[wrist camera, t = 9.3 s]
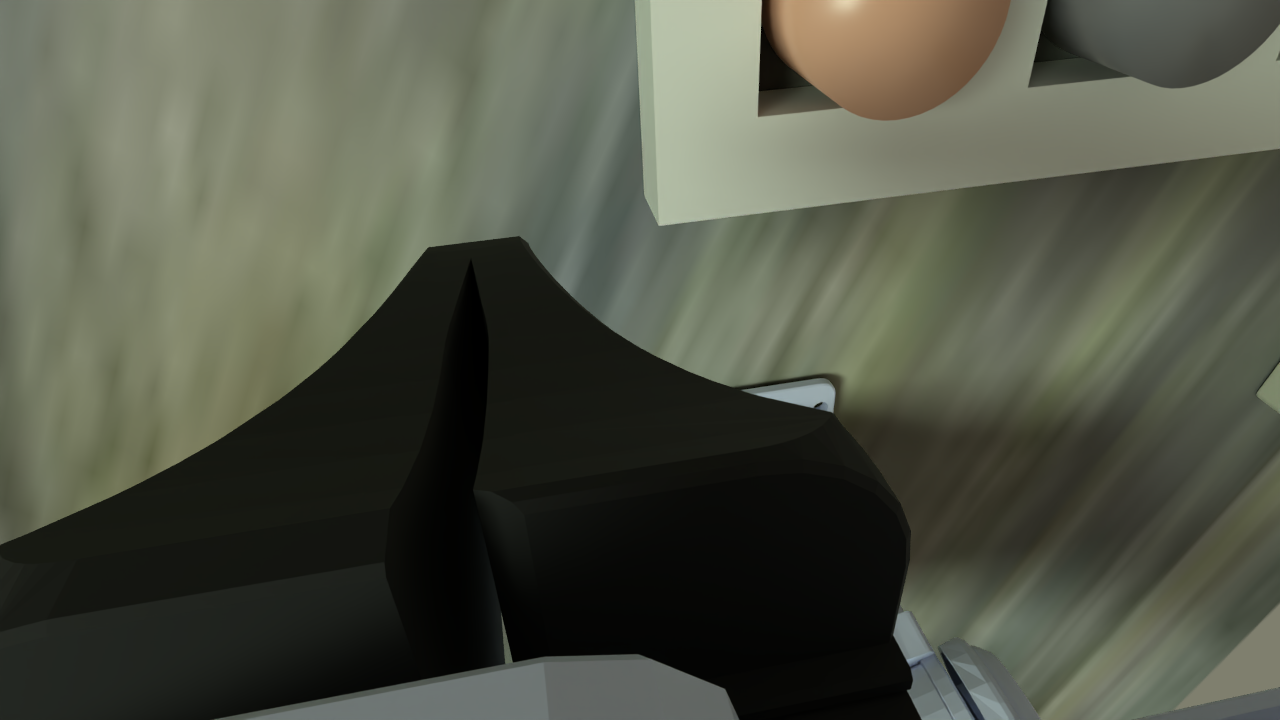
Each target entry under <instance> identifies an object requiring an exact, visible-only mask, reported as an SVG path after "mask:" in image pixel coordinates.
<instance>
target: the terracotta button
mask: <svg viewBox="0 0 1280 720" xmlns="http://www.w3.org/2000/svg"><path fill="white" fill-rule="evenodd" d="M1010 2H1011V0H762V8H761V21H762V25H763V28H764V32H765V34H766V37H767V39H768V41H769V43H770V45H771V47H772V48H773V50H774V51H775V53H776V54H777V55H778V57H779V58H780V59H781V60H782V61H783V62H784V63H785V64H786V65H787V66H788V67H790V68H791V69H792V70H793V71H795V72H796V73H797V74H799V75H800V76H801V77H803V78H804V79H805V80H807V81H808V82H809V83H811V84H812V85H813V86H815V87H816V88H817V89H818V90H820V91H821V92H822V93H824V94H825V95H826V96H828V97H829V98H830V99H832V100H833V101H834V102H836V103H837V104H838V105H840V106H841V107H843V108H844V109H846V110H847V111H849V112H851V113H853V114H855V115H858V116H860V117H864V118H868V119H872V120H881V121H889V120H900V119H905V118H910V117H913V116H916V115H919V114H922V113H924V112H927V111H929V110H931V109H933V108H935V107H937V106H938V105H940V104H942V103H943V102H945V101H946V100H948V99H949V98H950V97H952V96H953V95H955V94H956V93H957V92H958V91H959V90H960V89H962V88H963V87H964V86H965V85H966V84H967V83H968V82H969V81H970V80H971V79H972V78H973V76H974V75H975V74H976V73H977V72H978V71H979V69H980V68H981V67H982V65H983V64H984V63H985V61H986V60H987V58H988V57H989V55H990V53H991V52H992V50H993V48H994V47H995V45H996V43H997V40H998V38H999V36H1000V34H1001V32H1002V29H1003V27H1004V24H1005V21H1006V18H1007V14H1008V10H1009V7H1010Z"/></svg>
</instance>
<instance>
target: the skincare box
mask: <svg viewBox="0 0 1280 720" xmlns="http://www.w3.org/2000/svg"><path fill="white" fill-rule="evenodd" d="M1257 397H1258V398H1259V399H1261V400H1262V401H1263V402H1264V403H1266V404H1267V405H1268V406H1270V407H1271V408H1272V409H1274V410H1275V411H1276V412H1278V413H1279V414H1280V362H1279V364H1278V365H1277V367H1276V368H1275V369H1274V371H1273V372H1272V373H1271V375H1270V376H1269V377H1268V378H1267V380H1266V381H1265V382H1264V384H1263V385H1262V386H1261V388H1260V389H1259V390H1258V392H1257Z"/></svg>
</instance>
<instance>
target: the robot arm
mask: <svg viewBox="0 0 1280 720" xmlns="http://www.w3.org/2000/svg"><path fill="white" fill-rule="evenodd" d="M835 395H836V392H835V388H834V386H833V385H832V383H831V382H830V381H829V380H827V379H825V378H818V379H811V380H804V381H798V382H791V383H785V384H778V385H771V386H765V387H758V388H752V389H745V390H739V389H735V388H732V387H729V386H726V385H723V384H720V383H717V382H714V381H711V380H709V379H706V378H704V377H701V376H698V375H696V374H693V373H691V372H688V371H686V370H684V369H682V368H680V367H677V366H675V365H673V364H671V363H669V362H667V361H665V360H663V359H660V358H658V357H656V356H654V355H652V354H650V353H649V352H647V351H645V350H643V349H641V348H639V347H638V346H636V345H634V344H633V343H631V342H630V341H628V340H626V339H625V338H623V337H622V336H620V335H618V334H617V333H615V332H614V331H612V330H611V329H610V328H608V327H607V326H606V325H604V324H603V323H602V322H601V321H599V320H598V319H597V318H596V317H595V316H593V315H592V314H591V313H590V312H588V311H587V310H586V309H585V308H584V307H583V306H582V305H580V304H579V303H578V302H577V301H576V300H575V299H574V298H573V297H572V296H571V295H570V294H569V293H568V292H567V291H566V290H565V289H564V288H563V287H562V286H561V285H560V284H559V283H558V282H557V281H556V280H555V279H554V278H553V277H552V275H551V274H550V273H549V272H548V271H547V270H546V268H545V267H544V266H543V265H542V264H541V262H540V261H539V260H538V258H537V257H536V256H535V254H534V253H533V251H532V250H531V248H530V246H529V244H528V243H527V242H526V241H525V240H523V239H522V238H521V237H519V236H517V237H509V238H501V239H493V240H485V241H477V242H468V243H460V244H452V245H444V246H436V247H428V248H427V250H426V251H425V252H424V253H423V254H422V256H421V257H420V258H419V259H418V261H417V262H416V263H415V264H414V266H413V267H412V268H411V269H410V271H409V272H408V273H407V275H406V276H405V277H404V278H403V280H402V281H401V282H400V284H399V285H398V286H397V287H396V289H395V290H394V291H393V292H392V294H391V295H390V296H389V297H388V298H387V300H386V301H385V302H384V303H383V304H382V306H381V307H380V308H379V309H378V310H377V312H376V313H375V314H374V315H373V316H372V317H371V318H370V319H369V320H368V321H367V322H366V323H365V324H364V325H363V326H362V327H361V328H360V329H359V330H358V331H357V332H356V333H355V334H354V336H353V337H352V338H351V339H350V340H349V341H348V342H347V343H346V344H345V345H344V346H343V347H342V348H341V349H340V350H339V351H338V352H337V353H336V354H335V355H333V356H332V357H331V358H330V359H329V360H328V361H327V362H326V363H325V364H323V365H322V366H321V367H320V368H319V369H318V370H317V371H315V372H314V373H313V374H312V375H310V376H309V377H308V378H307V379H305V380H304V381H303V382H302V383H300V384H299V385H298V386H297V387H295V388H294V389H293V390H292V391H290V392H289V393H288V394H286V395H285V396H284V397H282V398H281V399H280V400H278V401H277V402H275V403H274V404H272V405H271V406H269V407H268V408H266V409H265V410H263V411H262V412H260V413H259V414H257V415H256V416H254V417H253V418H251V419H250V420H248V421H247V422H245V423H244V424H242V425H241V426H239V427H238V428H236V429H235V430H233V431H232V432H230V433H229V434H227V435H226V436H224V437H223V438H221V439H219V440H218V441H216V442H214V443H213V444H211V445H209V446H208V447H206V448H204V449H202V450H200V451H199V452H197V453H195V454H193V455H192V456H190V457H188V458H186V459H185V460H183V461H181V462H179V463H177V464H176V465H174V466H172V467H170V468H168V469H166V470H164V471H162V472H160V473H158V474H156V475H154V476H153V477H151V478H149V479H147V480H145V481H143V482H141V483H139V484H137V485H135V486H133V487H131V488H129V489H127V490H125V491H123V492H121V493H119V494H117V495H114V496H112V497H110V498H108V499H106V500H103V501H101V502H99V503H97V504H94V505H92V506H90V507H87V508H85V509H83V510H81V511H78V512H76V513H74V514H72V515H69V516H67V517H65V518H62V519H60V520H58V521H56V522H53V523H51V524H49V525H47V526H44V527H42V528H40V529H37V530H35V531H33V532H31V533H28V534H26V535H24V536H21V537H19V538H16V539H14V540H11V541H9V542H6V543H4V544H1V545H0V720H1041V718H1040V717H1039V715H1038V714H1037V712H1036V711H1035V709H1034V708H1033V706H1032V704H1031V703H1030V701H1029V700H1028V698H1027V697H1026V695H1025V694H1024V693H1023V691H1022V690H1021V688H1020V687H1019V685H1018V684H1017V682H1016V681H1015V680H1014V678H1013V677H1012V676H1011V674H1010V673H1009V672H1008V670H1007V669H1006V668H1005V666H1004V665H1003V664H1002V663H1001V661H1000V660H999V659H998V658H997V657H996V656H995V655H994V654H993V653H991V652H989V651H986V650H984V649H981V648H978V647H976V646H972V645H971V646H970V645H969V644H968V643H967V642H966V641H965V640H963V639H961V638H958V637H956V638H952V639H950V640H949V641H947V642H945V643H943V644H942V645H940V646H938V650H939V652H940V655H941V658H942V660H943V662H944V665H945V667H946V669H947V671H948V673H949V675H950V677H951V678H950V677H949V675H948V673H947V672H946V670H945V669H944V667H943V666H942V664H941V663H940V661H939V660H938V658H937V656H936V655H935V652H934V651H933V649H932V647H931V645H930V644H929V642H928V640H927V638H926V636H925V635H924V633H923V631H922V629H921V628H920V626H919V624H918V622H917V621H916V619H915V617H914V615H913V613H912V612H911V611H903V609H902V607H901V605H900V602H901V597H902V593H903V588H904V583H905V579H906V574H907V570H908V565H909V560H910V537H911V530H910V527H909V525H908V522H907V520H906V517H905V514H904V512H903V509H902V507H901V504H900V502H899V501H898V499H897V498H896V496H895V495H894V493H893V491H892V490H891V488H890V487H889V485H888V484H887V482H886V480H885V479H884V477H883V476H882V474H881V473H880V471H879V470H878V468H877V467H876V466H875V464H874V463H873V462H872V460H871V459H870V458H869V456H868V455H867V454H866V452H865V451H864V450H863V448H862V447H861V446H860V445H859V444H858V443H857V441H856V440H855V439H854V438H853V437H852V436H851V435H850V433H849V432H848V431H847V430H846V429H845V428H844V427H843V425H842V424H841V423H840V422H839V420H838V419H837V417H836V416H835V415H834V414H833V413H834V404H835ZM820 402H823V404H821V405H820V406H819V407H816V408H814V406H815V405H816V404H817V403H820ZM501 613H502V617H503V621H504V626H505V630H506V634H507V639H508V643H509V647H510V651H511V656H512V660H513V663H509V664H505V657H504V644H503V631H502V618H501ZM1133 720H1280V687H1279V688H1275V689H1270V690H1265V691H1261V692H1256V693H1252V694H1247V695H1243V696H1238V697H1233V698H1229V699H1224V700H1220V701H1215V702H1211V703H1206V704H1201V705H1197V706H1192V707H1188V708H1183V709H1179V710H1174V711H1169V712H1165V713H1160V714H1156V715H1151V716H1147V717H1142V718H1138V719H1133Z"/></svg>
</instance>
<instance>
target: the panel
mask: <svg viewBox="0 0 1280 720" xmlns="http://www.w3.org/2000/svg"><path fill="white" fill-rule="evenodd" d="M1047 1H1048V0H1011V2H1010V7H1009V10H1008V14H1007V18H1006V21H1005V24H1004V27H1003V29H1002V32H1001V34H1000V36H999V38H998V40H997V43H996V45H995V47H994V48H993V50H992V52H991V53H990V55H989V57H988V58H987V60H986V61H985V63H984V64H983V65H982V67H981V68H980V69H979V71H978V72H977V73H976V74H975V75H974V76H973V78H972V79H971V80H970V81H969V82H968V83H967V84H966V85H965V86H964V87H963V88H962V89H960V90H959V91H958V92H957V93H956V94H955V95H953V96H952V97H950V98H949V99H948V100H946V101H945V102H943V103H942V104H940V105H938V106H937V107H935V108H933V109H931V110H929V111H927V112H924V113H922V114H919V115H916V116H913V117H910V118H905V119H900V120H889V121H881V120H872V119H868V118H864V117H860V116H858V115H855V114H853V113H851V112H849V111H847V110H846V109H844V108H843V107H841V106H840V105H838V104H837V103H836V102H834V101H833V100H832V99H830V98H829V97H828V96H826V95H825V94H824V93H822V92H821V91H820V90H818V89H817V88H816V87H815V86H805V87H795V88H786V89H776V90H767V91H759V64H760V36H761V8H762V0H635V14H636V35H637V55H638V76H639V96H640V117H641V137H642V158H643V179H644V196H645V198H646V200H647V202H648V204H649V206H650V208H651V210H652V213H653V215H654V217H655V219H656V221H657V223H658V225H659V226H662V225H670V224H678V223H686V222H694V221H702V220H710V219H718V218H726V217H734V216H742V215H750V214H758V213H766V212H775V211H783V210H791V209H799V208H807V207H815V206H823V205H831V204H839V203H847V202H855V201H863V200H871V199H879V198H887V197H895V196H903V195H912V194H920V193H928V192H936V191H944V190H952V189H960V188H968V187H976V186H984V185H992V184H1000V183H1008V182H1016V181H1024V180H1032V179H1040V178H1049V177H1057V176H1065V175H1073V174H1081V173H1089V172H1097V171H1105V170H1113V169H1121V168H1129V167H1137V166H1145V165H1153V164H1161V163H1169V162H1177V161H1186V160H1194V159H1202V158H1210V157H1218V156H1226V155H1234V154H1242V153H1250V152H1258V151H1266V150H1274V149H1280V24H1279V26H1278V27H1277V28H1276V30H1275V31H1274V32H1273V33H1272V34H1271V35H1270V36H1269V38H1268V39H1267V40H1266V41H1265V42H1264V43H1263V44H1262V45H1261V46H1260V47H1259V48H1258V49H1257V50H1256V51H1255V52H1254V53H1252V54H1251V55H1250V56H1249V57H1248V58H1246V59H1245V60H1244V61H1243V62H1241V63H1240V64H1238V65H1237V66H1235V67H1234V68H1233V69H1231V70H1230V71H1228V72H1226V73H1224V74H1223V75H1221V76H1219V77H1217V78H1215V79H1212V80H1210V81H1208V82H1205V83H1202V84H1199V85H1196V86H1192V87H1186V88H1174V89H1171V88H1163V87H1159V86H1155V85H1152V84H1149V83H1147V82H1144V81H1142V80H1139V79H1136V78H1134V77H1131V76H1129V75H1126V74H1123V73H1121V72H1118V71H1116V70H1113V69H1110V68H1108V67H1105V66H1103V65H1100V64H1097V63H1095V62H1092V61H1089V60H1087V59H1084V58H1082V57H1081V58H1072V59H1062V60H1053V61H1043V62H1034V58H1035V54H1036V49H1037V45H1038V41H1039V36H1040V32H1041V27H1042V23H1043V18H1044V14H1045V9H1046V5H1047Z"/></svg>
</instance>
